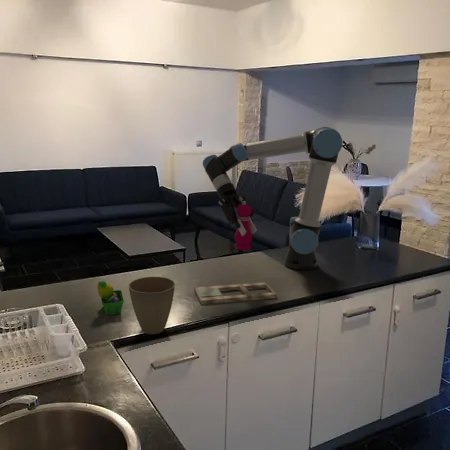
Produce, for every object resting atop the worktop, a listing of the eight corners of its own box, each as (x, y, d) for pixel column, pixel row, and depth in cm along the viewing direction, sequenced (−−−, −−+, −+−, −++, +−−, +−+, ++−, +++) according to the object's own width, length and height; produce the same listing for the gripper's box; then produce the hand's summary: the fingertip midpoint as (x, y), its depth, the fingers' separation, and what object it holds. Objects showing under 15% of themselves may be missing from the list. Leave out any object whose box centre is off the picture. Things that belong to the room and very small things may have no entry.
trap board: (265, 285, 209) (265, 281, 208) (277, 298, 195) (277, 293, 195) (194, 291, 201) (194, 286, 201) (201, 304, 188) (201, 299, 188)
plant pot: (132, 320, 173) (131, 276, 170) (176, 320, 174) (175, 276, 170) (127, 340, 159) (125, 292, 155) (174, 339, 160) (174, 292, 156)
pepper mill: (231, 246, 211) (232, 199, 206) (247, 245, 214) (248, 198, 209) (238, 251, 205) (239, 202, 200) (254, 249, 207) (256, 201, 203)
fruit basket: (124, 314, 178) (123, 284, 175) (98, 317, 176) (97, 286, 173) (121, 302, 189) (120, 274, 186) (97, 304, 186) (96, 276, 184)
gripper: (236, 190, 221) (260, 234, 213) (203, 194, 210) (228, 241, 202) (244, 180, 216) (270, 224, 208) (211, 183, 205) (237, 231, 196)
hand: (249, 232), depth 205 cm, fingers closed on pepper mill, 5 cm apart
